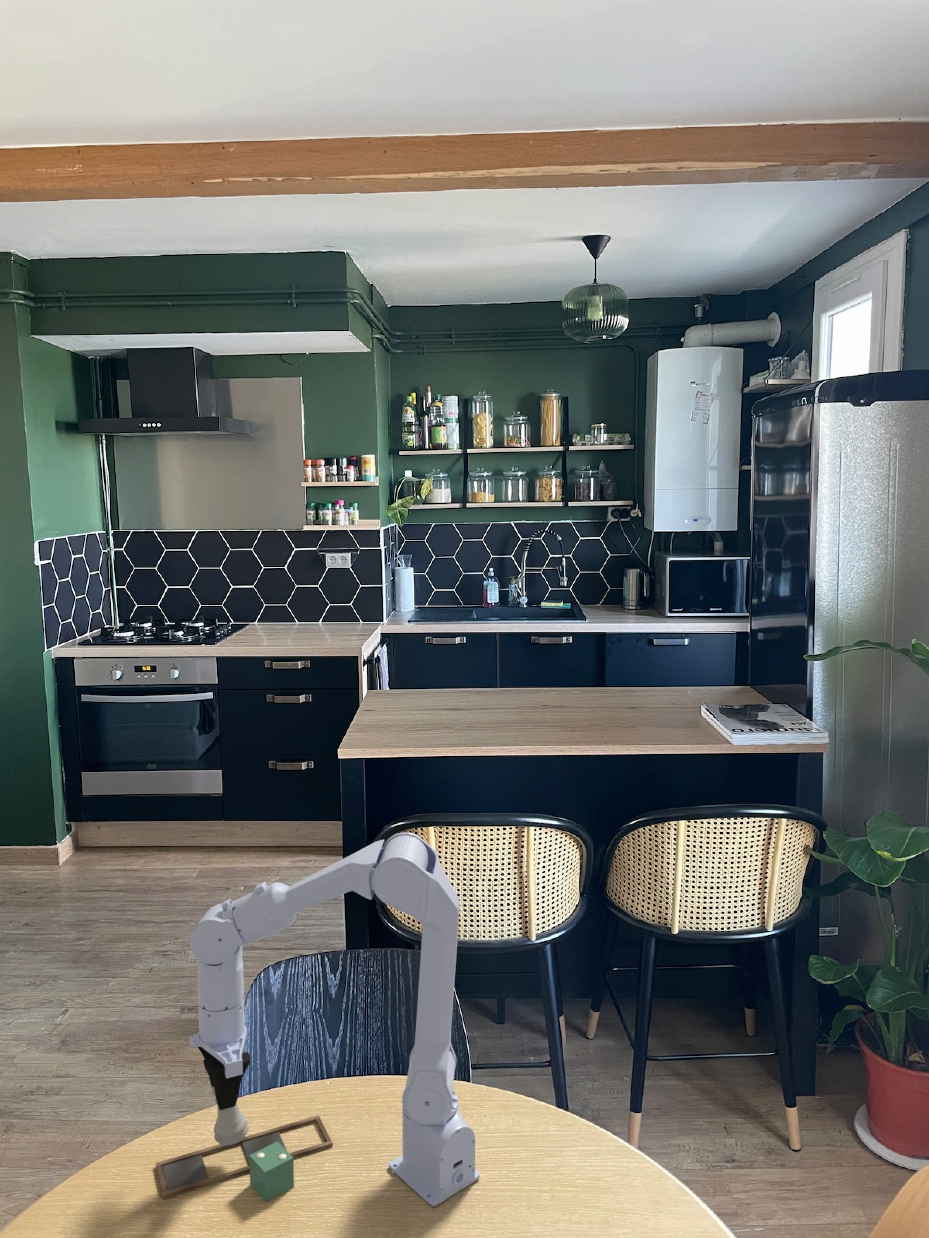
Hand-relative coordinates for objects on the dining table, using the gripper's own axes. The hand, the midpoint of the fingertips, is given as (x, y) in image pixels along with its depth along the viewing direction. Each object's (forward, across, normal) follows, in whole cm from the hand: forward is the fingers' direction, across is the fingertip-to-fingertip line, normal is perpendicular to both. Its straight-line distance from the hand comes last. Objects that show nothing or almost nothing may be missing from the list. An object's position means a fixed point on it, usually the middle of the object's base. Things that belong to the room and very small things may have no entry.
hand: (224, 1097), depth 119 cm
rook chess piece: (+6, 0, +1) cm, 6 cm away
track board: (+9, 0, +3) cm, 9 cm away
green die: (+9, +7, +4) cm, 12 cm away
